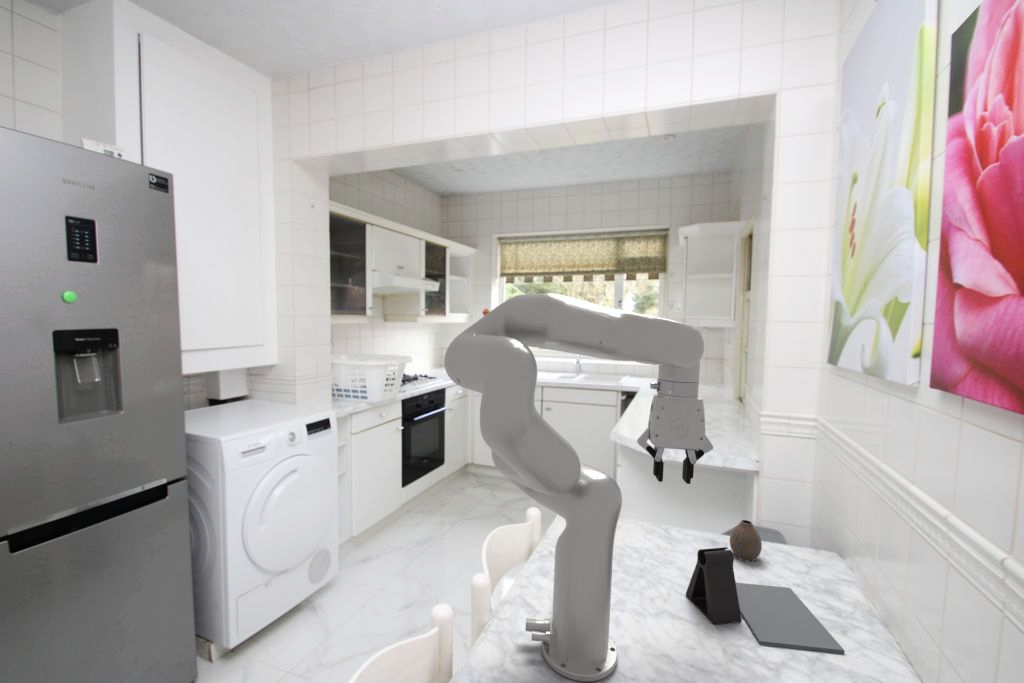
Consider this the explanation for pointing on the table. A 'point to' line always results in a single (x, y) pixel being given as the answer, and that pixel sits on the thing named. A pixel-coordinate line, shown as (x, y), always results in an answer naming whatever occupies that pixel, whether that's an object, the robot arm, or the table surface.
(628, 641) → the table surface
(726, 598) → the phone stand
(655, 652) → the table surface
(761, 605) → the mat
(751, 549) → the vase
